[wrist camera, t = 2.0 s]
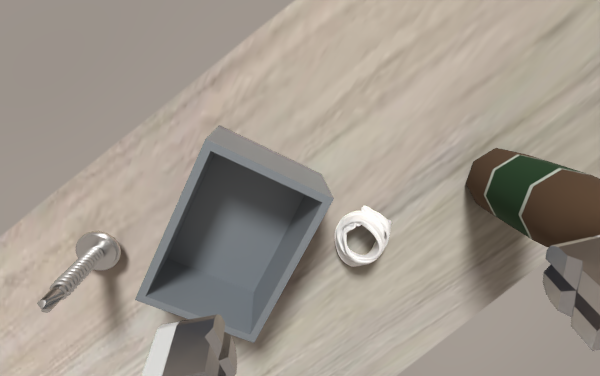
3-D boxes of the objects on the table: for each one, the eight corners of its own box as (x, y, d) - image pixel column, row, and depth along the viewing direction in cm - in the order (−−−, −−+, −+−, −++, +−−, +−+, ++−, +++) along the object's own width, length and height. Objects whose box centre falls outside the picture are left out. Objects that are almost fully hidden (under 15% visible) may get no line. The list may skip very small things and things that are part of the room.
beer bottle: (462, 152, 44) (664, 236, 22) (525, 140, 45) (792, 210, 22) (465, 212, 47) (650, 344, 24) (525, 200, 47) (766, 320, 24)
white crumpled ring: (366, 264, 49) (377, 287, 45) (321, 249, 47) (328, 272, 43) (395, 213, 47) (411, 233, 42) (349, 196, 45) (360, 214, 40)
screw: (118, 267, 46) (78, 251, 45) (132, 235, 45) (92, 218, 44) (60, 340, 33) (4, 320, 32) (78, 297, 32) (21, 276, 31)
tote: (257, 294, 48) (253, 342, 40) (160, 257, 46) (135, 299, 37) (321, 174, 44) (333, 198, 35) (219, 125, 41) (205, 138, 33)
